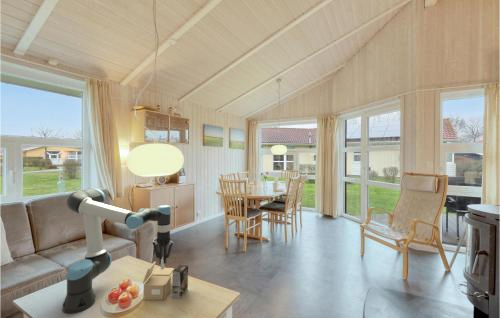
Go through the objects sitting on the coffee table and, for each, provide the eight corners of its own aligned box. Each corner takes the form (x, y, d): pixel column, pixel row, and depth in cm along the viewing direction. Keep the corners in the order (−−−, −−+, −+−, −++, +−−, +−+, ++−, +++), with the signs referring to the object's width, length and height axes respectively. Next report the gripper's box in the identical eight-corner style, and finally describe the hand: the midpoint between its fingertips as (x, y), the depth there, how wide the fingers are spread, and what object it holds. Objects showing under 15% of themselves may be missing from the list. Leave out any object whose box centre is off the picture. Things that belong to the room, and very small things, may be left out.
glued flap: (142, 282, 136) (148, 268, 136) (149, 274, 146) (154, 261, 146) (144, 282, 136) (149, 269, 136) (151, 274, 146) (156, 261, 146)
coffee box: (181, 299, 137) (181, 272, 137) (171, 297, 139) (172, 271, 139) (188, 290, 146) (188, 265, 146) (179, 289, 148) (179, 264, 147)
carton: (143, 300, 135) (143, 284, 135) (156, 281, 156) (157, 267, 156) (164, 300, 135) (164, 284, 135) (175, 281, 156) (175, 268, 156)
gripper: (150, 232, 137) (149, 271, 137) (172, 233, 137) (171, 271, 138) (155, 228, 145) (154, 265, 145) (176, 229, 145) (175, 265, 145)
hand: (162, 268), depth 141 cm, fingers closed
